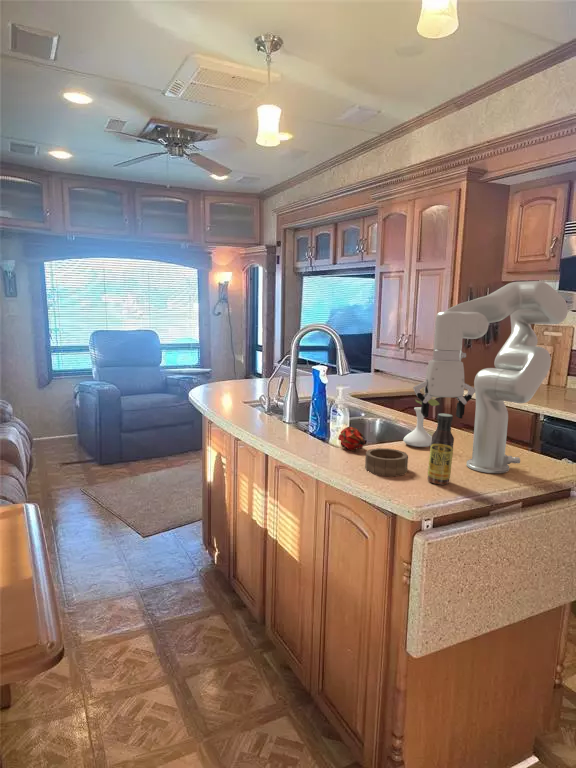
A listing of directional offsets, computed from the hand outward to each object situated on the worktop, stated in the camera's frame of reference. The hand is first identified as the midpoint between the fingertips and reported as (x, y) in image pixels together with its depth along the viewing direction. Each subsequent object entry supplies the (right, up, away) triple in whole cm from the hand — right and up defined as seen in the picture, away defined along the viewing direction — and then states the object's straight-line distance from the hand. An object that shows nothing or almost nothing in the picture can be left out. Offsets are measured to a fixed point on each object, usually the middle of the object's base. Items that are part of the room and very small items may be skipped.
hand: (442, 417), depth 141 cm
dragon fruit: (-21, -14, +36) cm, 44 cm away
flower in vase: (+5, -14, +42) cm, 45 cm away
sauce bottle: (0, -19, +3) cm, 19 cm away
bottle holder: (-13, -17, +14) cm, 26 cm away
